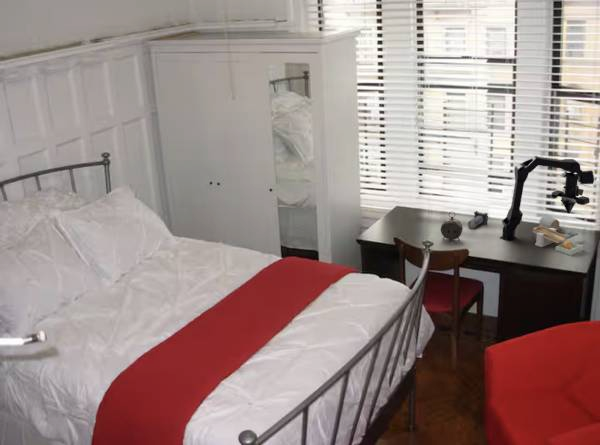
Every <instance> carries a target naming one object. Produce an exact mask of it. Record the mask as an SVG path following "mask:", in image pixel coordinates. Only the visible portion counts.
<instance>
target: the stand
mask: <svg viewBox="0 0 600 445" xmlns="http://www.w3.org/2000/svg"><path fill="white" fill-rule="evenodd" d="M549 229H551V230H553V231H556V229H554V228H549ZM556 232H557V231H556ZM535 241H536V242H535V243H534V246H537V247H541V248H543V247H546V246H548V245H550V244H552V243H554V242H553V241H551V240H549V239H547V238H544V234H543V233H537V238H536V239H535Z"/></svg>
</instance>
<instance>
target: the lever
mask: <svg viewBox="0 0 600 445" xmlns="http://www.w3.org/2000/svg"><path fill="white" fill-rule="evenodd" d="M531 231H532V232H531V238H532V239H534V240H536V238H537V233H543V234H544V239H549V240H551V241H553V243H555V244H559V243H562V242H563V241H564V242H565V241H567V240H568V239H571V238H572V237H573V238H574V237H575V236H578V235H579V232H577V231H575V230H571V231H569V232H567V233H565V234H562V233H560V232H558V231H553V230H551V229H549V228H547V227H544V226H542V225H541V226H539V225H538V226H536V227H533V228H532V230H531Z"/></svg>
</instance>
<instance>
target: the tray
mask: <svg viewBox="0 0 600 445" xmlns="http://www.w3.org/2000/svg"><path fill="white" fill-rule="evenodd" d="M568 241H569V240H568ZM569 242H571V244H572V247H571V248H570V249H565V248H564V247H563V244H564V242H563V243H561V244H559V245H556V246H555V248H554V251H556V252H558V253H561V254H564V255H567V256H571V257H572V256H573V255H577V254H578V253H580V252H583V251H584V244H580V243H577V242H572V241H569Z"/></svg>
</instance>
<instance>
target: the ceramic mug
mask: <svg viewBox="0 0 600 445" xmlns="http://www.w3.org/2000/svg"><path fill="white" fill-rule="evenodd" d="M538 224H539V225H538V226H541V225H542V226H544V227H547V228H554V229H556V232H558V229H560V227H561V226H560V221H559V220H558V219H556V218H554V217H552V216H549V215H547V214H545V215H542V216H541V218H540V220H539V222H538Z"/></svg>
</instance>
